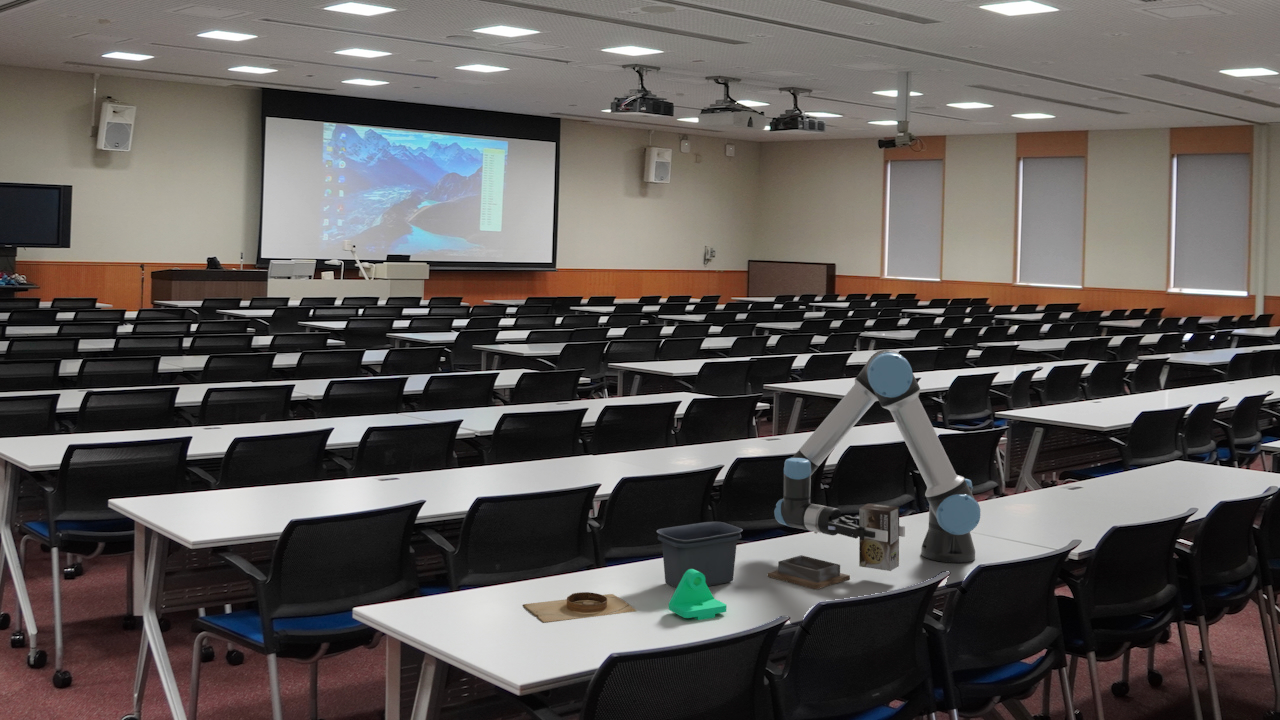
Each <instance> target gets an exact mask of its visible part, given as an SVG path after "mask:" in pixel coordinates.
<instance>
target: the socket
mask: <svg viewBox="0 0 1280 720" xmlns="http://www.w3.org/2000/svg"><path fill="white" fill-rule="evenodd" d="M777 565H778V567H777V570H773V571H769V572H767V577H769V578H771V579H776V580H779V581H783V582H786V583H790V584H792V585H797V586H801V587H804V588H809V589H812V590H819V589H822V588H825V587H829V586H832V585H835V584H838V583H841V582H845V581H847V580H850V579H851V575H850V574H846V573H842V572H841V564H838V563H833V562H831V561H827V560H823V559H822V560H821V559H819V558H815V557H810V556H805V555H803V554H802V555H798V556H793V557H790V558H785V559H782V560H779V561H778V563H777Z"/></svg>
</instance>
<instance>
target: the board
mask: <svg viewBox="0 0 1280 720" xmlns="http://www.w3.org/2000/svg"><path fill="white" fill-rule="evenodd" d="M522 607H523V608H524V609H525V610H526V611H527V612H529V613H530V614H531V615H532V616H534V617H535V618H537V619H538V620H539V621H540V622H541V623H543V624H547V623H548V624H549V623H553V622H554V623H555V622H562V621H563V622H564V621H571V620H578V619H587V618H588V619H589V618H594V617H603V616H611V615H618V614H619V615H620V614H626V613H634V612H638V610H637V609H636V608H634V606H632V605H631V604H629V603H627V602H626V601H625V600H623V599H622V598H620V597H618V596H617V595H615V594H613V593H609V594H600V593H596V592H589V591H588V592H586V591H584V592H583V591H582V592H581V591H580V592H575V593H574V592H573V593H571V594H570V595H568V596H567V597H566V599H559V600H558V599H557V600H551V601H541V602H531V603H524V604H522Z"/></svg>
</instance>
